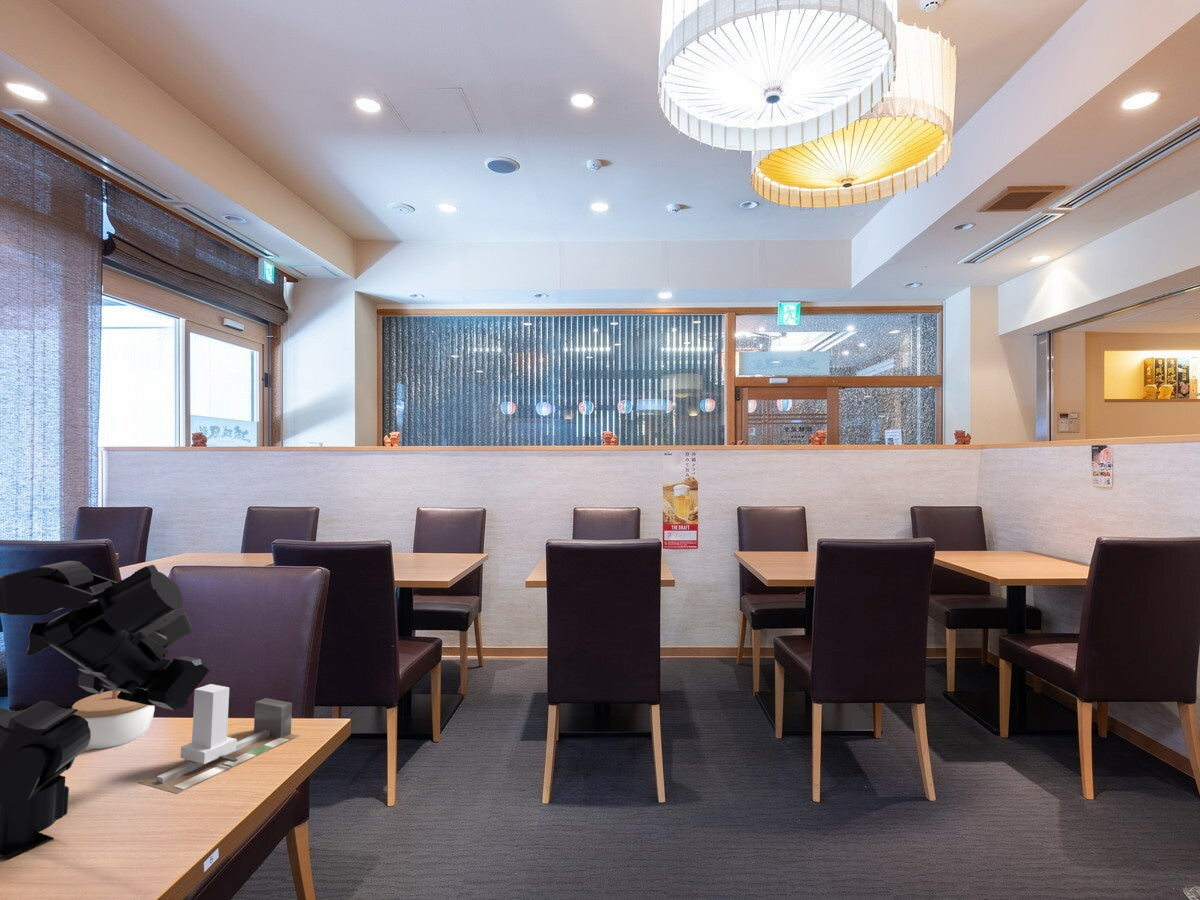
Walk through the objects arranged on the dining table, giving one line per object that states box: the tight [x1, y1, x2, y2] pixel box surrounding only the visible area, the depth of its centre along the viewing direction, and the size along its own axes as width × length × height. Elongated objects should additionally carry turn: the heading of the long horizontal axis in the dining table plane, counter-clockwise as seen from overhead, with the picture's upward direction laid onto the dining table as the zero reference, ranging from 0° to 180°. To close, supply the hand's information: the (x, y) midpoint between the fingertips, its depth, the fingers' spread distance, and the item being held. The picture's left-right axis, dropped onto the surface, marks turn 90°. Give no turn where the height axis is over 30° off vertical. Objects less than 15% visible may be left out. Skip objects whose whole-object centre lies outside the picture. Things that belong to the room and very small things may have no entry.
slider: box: [180, 683, 238, 764], centre depth 89 cm, size 5×8×10 cm, turn 69°
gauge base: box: [137, 697, 300, 795], centre depth 91 cm, size 20×8×6 cm, turn 159°
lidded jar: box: [71, 689, 156, 752], centre depth 97 cm, size 11×11×9 cm
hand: (184, 705), depth 86 cm, fingers closed
